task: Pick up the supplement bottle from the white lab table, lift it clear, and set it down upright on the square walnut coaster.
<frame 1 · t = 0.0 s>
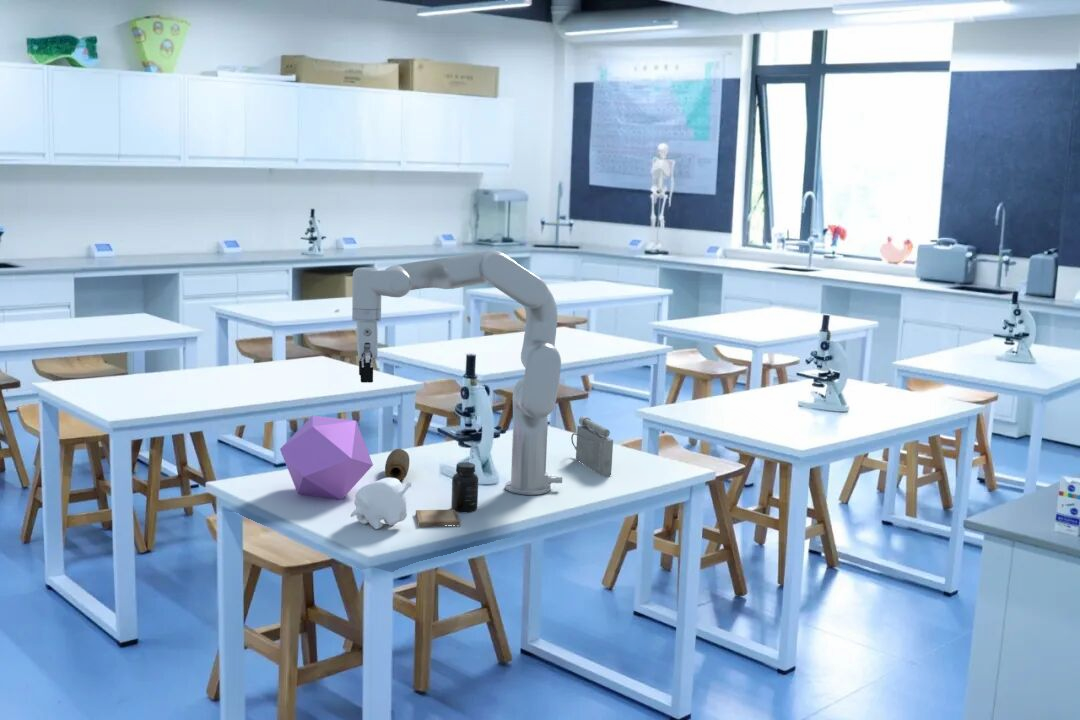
hand: (365, 378, 304), 31 cm above the table, tool pointing down, fingers open, 9 cm apart
icosahedron: (326, 493, 308), on the table
coaster: (437, 520, 288), on the table
elephant figurine: (382, 526, 282), on the table
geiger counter: (587, 466, 346), on the table
brown hollow tube: (397, 476, 327), on the table
supplement bottle: (464, 509, 298), on the table
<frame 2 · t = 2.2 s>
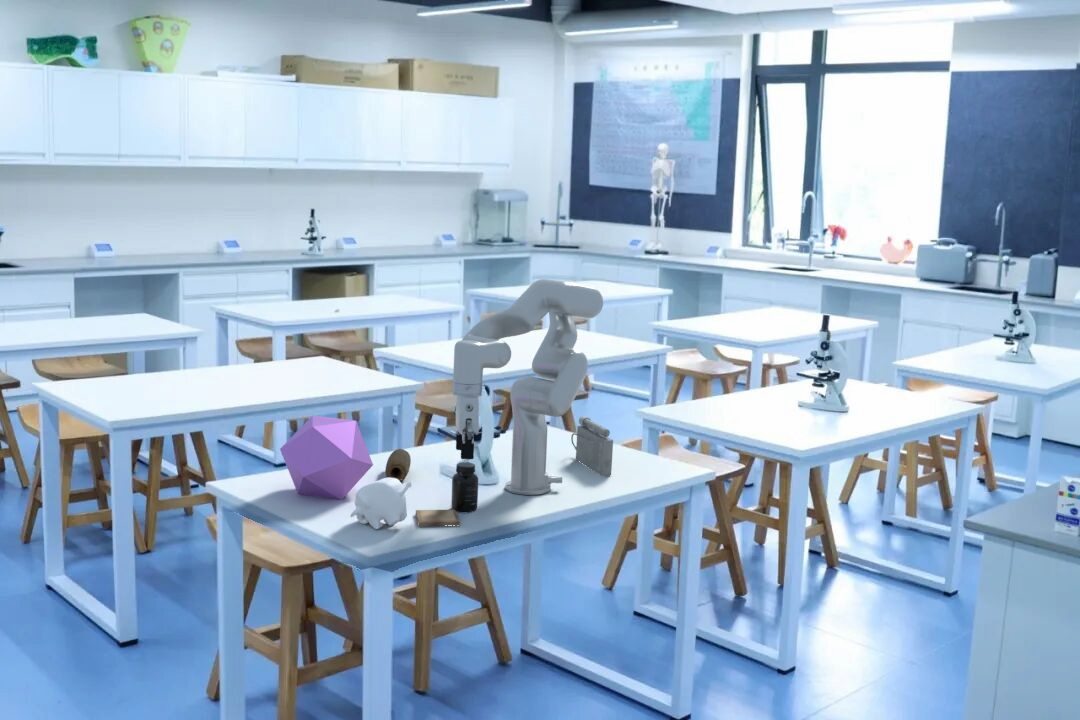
hand: (464, 454, 295), 15 cm above the table, tool pointing down, fingers open, 9 cm apart
nothing on the table moved.
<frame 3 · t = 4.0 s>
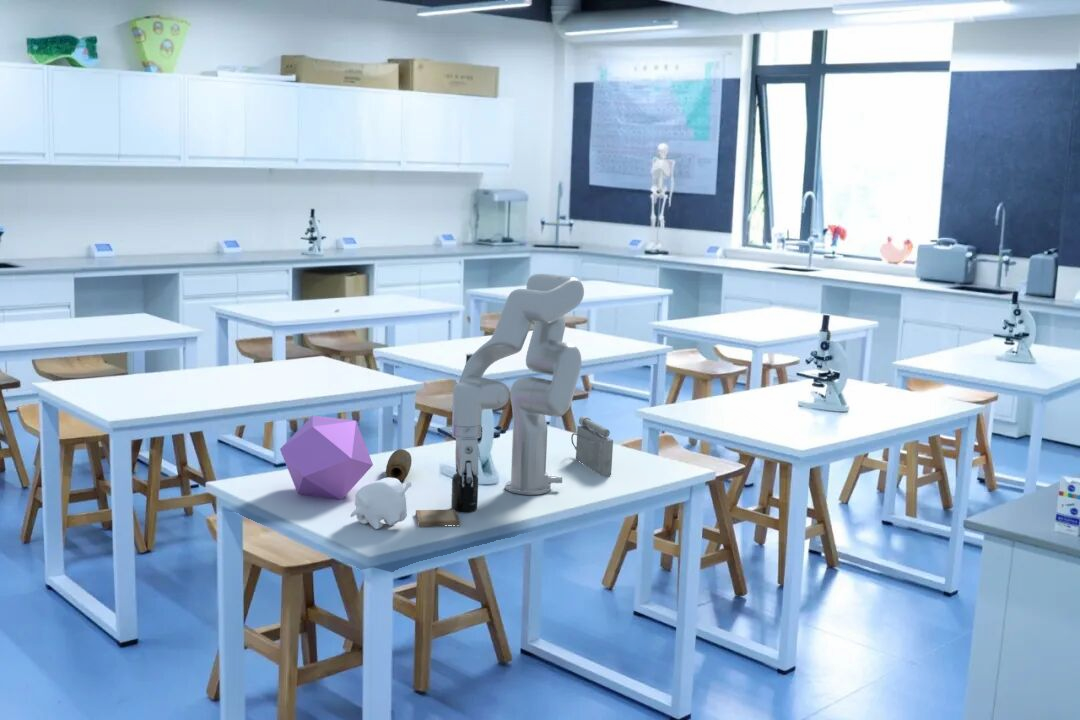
hand: (464, 496, 297), 3 cm above the table, tool pointing down, fingers closed on supplement bottle, 6 cm apart
supplement bottle: (464, 509, 298), on the table, touching gripper
everything else where it was.
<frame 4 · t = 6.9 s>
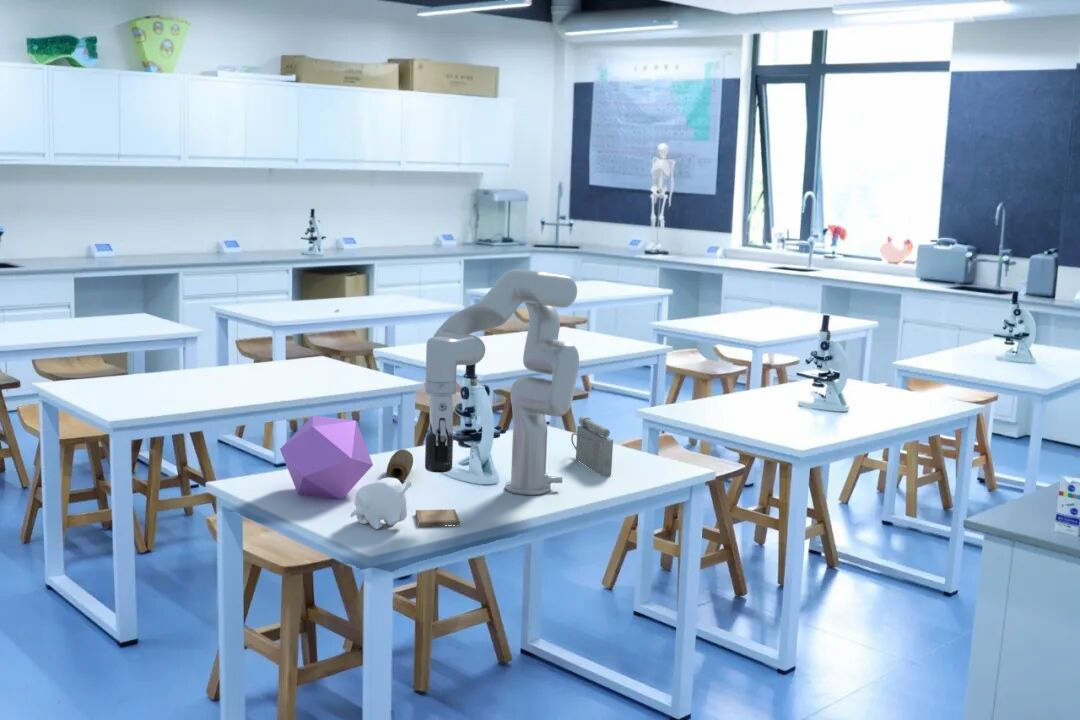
hand: (439, 456, 285), 16 cm above the table, tool pointing down, fingers closed on supplement bottle, 6 cm apart
supplement bottle: (438, 470, 285), point 13 cm above the table, touching gripper
everything else where it was.
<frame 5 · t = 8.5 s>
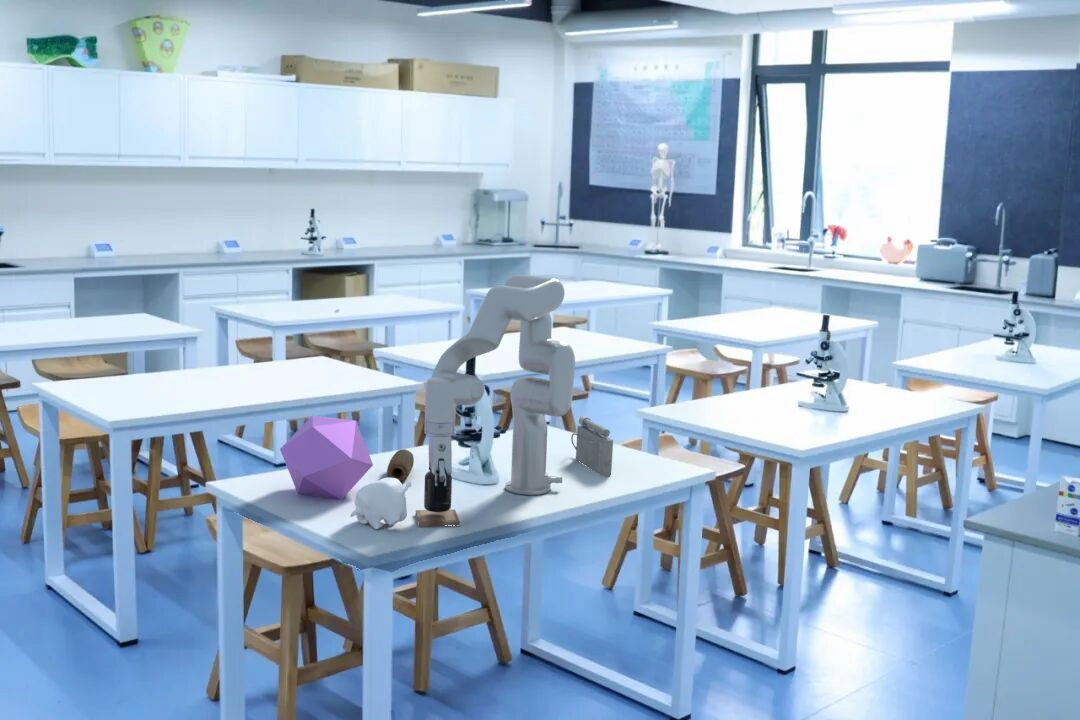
hand: (438, 496, 287), 6 cm above the table, tool pointing down, fingers closed on supplement bottle, 6 cm apart
supplement bottle: (437, 509, 287), point 3 cm above the table, touching gripper
when the fingers open (5 cm above the table, at t = 9.7 s): supplement bottle stays where it is, resting on coaster.
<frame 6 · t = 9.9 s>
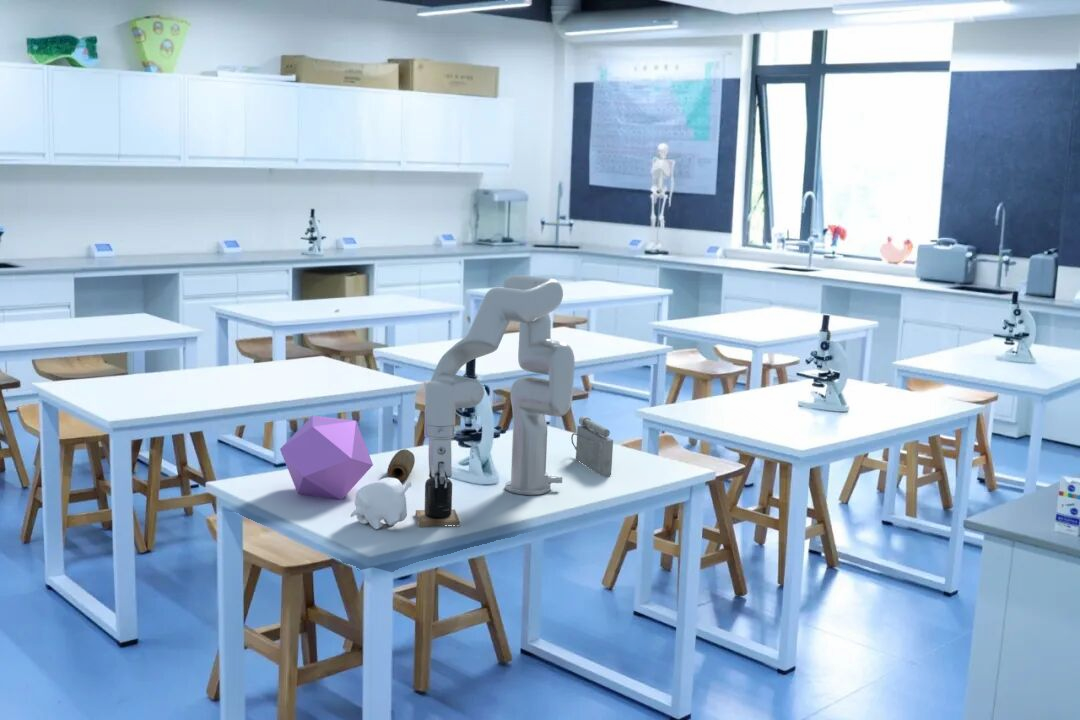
hand: (438, 497, 287), 6 cm above the table, tool pointing down, fingers open, 8 cm apart
supplement bottle: (437, 516, 287), point 1 cm above the table, touching coaster
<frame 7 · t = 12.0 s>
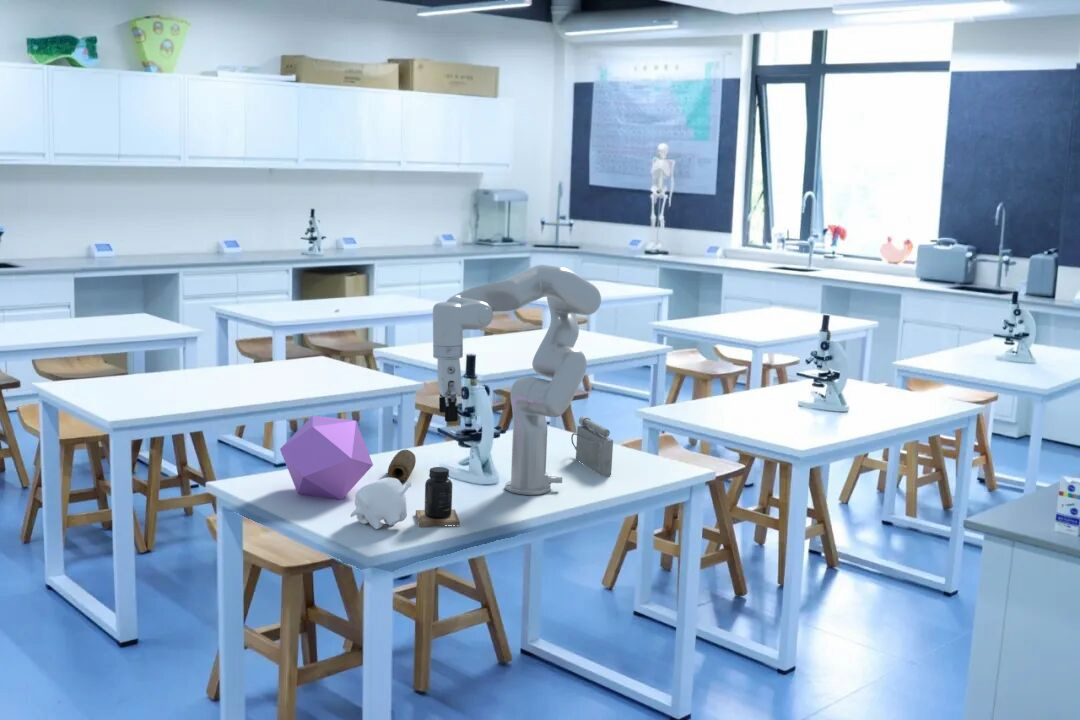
hand: (448, 416, 294), 24 cm above the table, tool pointing down, fingers open, 9 cm apart
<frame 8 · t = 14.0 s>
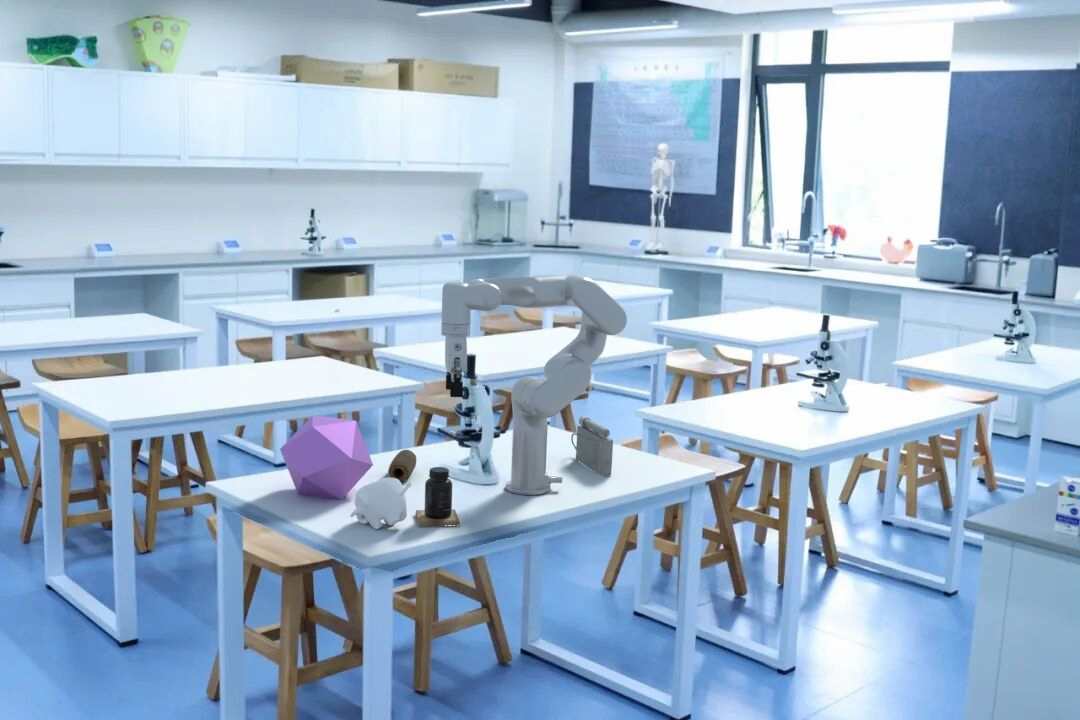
hand: (453, 393, 304), 28 cm above the table, tool pointing down, fingers open, 9 cm apart
at the end: supplement bottle inside the target area on the coaster (0.1 cm from its centre), point 1.1 cm above the coaster's base; supplement bottle tilted 0°; the gripper is holding nothing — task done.
